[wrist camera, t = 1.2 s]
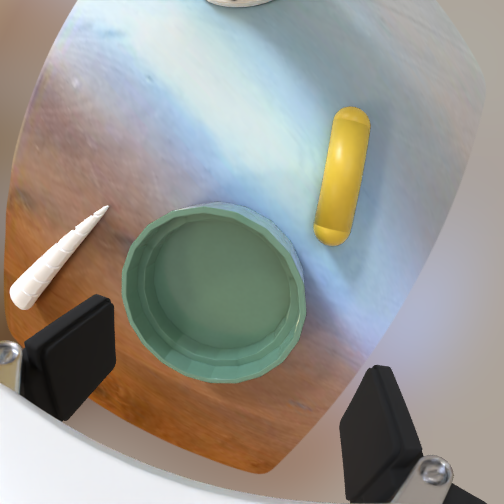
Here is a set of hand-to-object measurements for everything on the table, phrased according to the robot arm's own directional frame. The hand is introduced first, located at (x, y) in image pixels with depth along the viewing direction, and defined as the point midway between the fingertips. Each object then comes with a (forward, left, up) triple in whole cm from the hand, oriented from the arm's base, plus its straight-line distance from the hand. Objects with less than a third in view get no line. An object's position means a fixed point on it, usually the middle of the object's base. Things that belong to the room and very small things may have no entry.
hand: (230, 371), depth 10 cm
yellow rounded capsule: (-8, +5, -22) cm, 23 cm away
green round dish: (+6, -5, -22) cm, 23 cm away
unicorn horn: (+8, -29, -22) cm, 37 cm away
